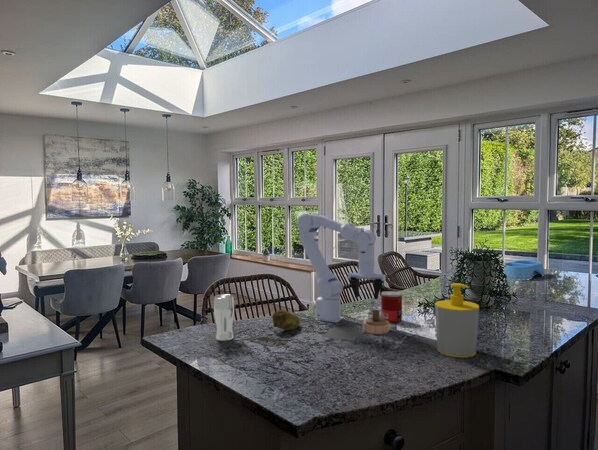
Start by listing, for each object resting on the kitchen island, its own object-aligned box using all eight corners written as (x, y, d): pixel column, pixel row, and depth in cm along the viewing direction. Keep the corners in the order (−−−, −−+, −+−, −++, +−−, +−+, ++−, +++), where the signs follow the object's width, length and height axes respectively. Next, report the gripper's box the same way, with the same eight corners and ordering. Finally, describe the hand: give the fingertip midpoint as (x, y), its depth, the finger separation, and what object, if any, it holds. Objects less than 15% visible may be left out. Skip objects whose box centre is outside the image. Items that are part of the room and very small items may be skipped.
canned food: (402, 323, 166) (402, 295, 165) (381, 322, 168) (381, 294, 167) (401, 318, 174) (401, 291, 173) (381, 317, 175) (381, 290, 175)
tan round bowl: (360, 332, 155) (360, 324, 155) (368, 326, 163) (368, 317, 163) (385, 336, 151) (384, 327, 151) (392, 329, 159) (392, 320, 159)
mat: (321, 337, 151) (321, 335, 151) (335, 328, 161) (335, 326, 161) (353, 341, 145) (353, 340, 145) (365, 332, 156) (365, 331, 156)
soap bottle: (474, 361, 126) (475, 289, 125) (429, 353, 133) (430, 285, 132) (482, 348, 137) (482, 282, 136) (440, 341, 144) (440, 278, 143)
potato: (307, 329, 160) (307, 308, 160) (279, 336, 153) (279, 313, 152) (294, 324, 167) (294, 304, 167) (266, 330, 159) (266, 309, 159)
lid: (362, 323, 155) (362, 311, 155) (370, 318, 162) (370, 307, 162) (382, 326, 151) (382, 314, 151) (389, 321, 158) (389, 309, 157)
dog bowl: (524, 282, 247) (524, 267, 246) (492, 277, 262) (492, 264, 262) (550, 275, 267) (550, 262, 267) (519, 271, 282) (520, 259, 282)
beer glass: (238, 336, 153) (237, 294, 152) (228, 342, 147) (227, 298, 146) (220, 334, 155) (219, 293, 155) (210, 340, 149) (209, 297, 148)
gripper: (344, 263, 164) (344, 298, 164) (381, 264, 157) (381, 301, 157) (351, 260, 170) (351, 294, 171) (387, 262, 163) (387, 297, 164)
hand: (366, 298), depth 164 cm, fingers open, 7 cm apart
